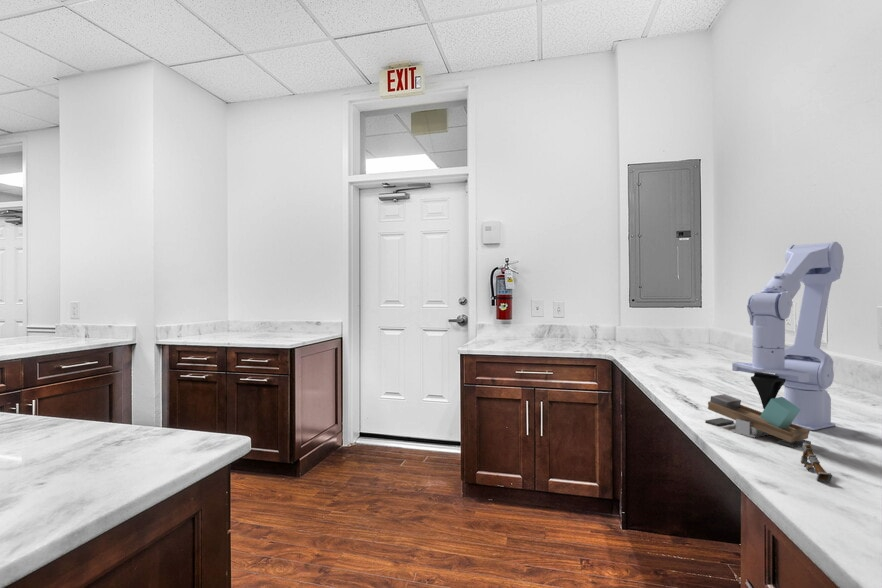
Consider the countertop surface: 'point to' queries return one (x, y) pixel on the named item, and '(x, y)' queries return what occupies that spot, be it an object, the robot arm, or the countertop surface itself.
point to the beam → (754, 418)
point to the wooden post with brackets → (814, 464)
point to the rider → (780, 412)
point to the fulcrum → (752, 430)
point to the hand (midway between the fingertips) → (767, 408)
